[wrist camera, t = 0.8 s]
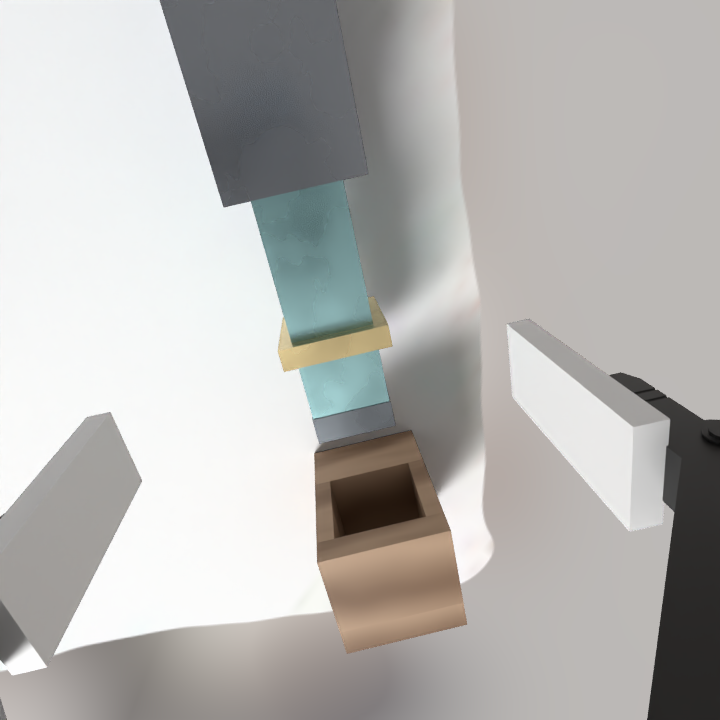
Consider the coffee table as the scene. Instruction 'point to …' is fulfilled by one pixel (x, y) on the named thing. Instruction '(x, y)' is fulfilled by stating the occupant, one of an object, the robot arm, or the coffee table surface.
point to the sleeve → (268, 93)
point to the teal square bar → (326, 310)
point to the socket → (384, 544)
